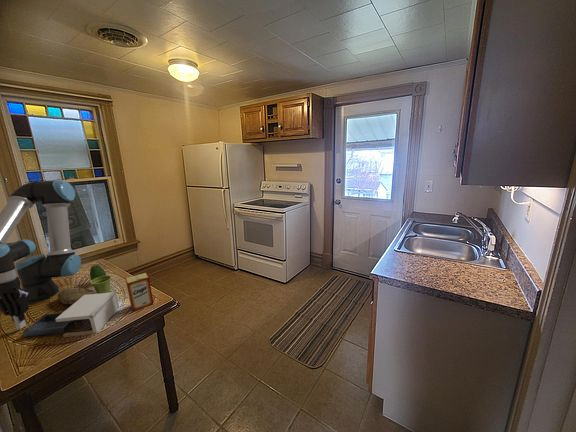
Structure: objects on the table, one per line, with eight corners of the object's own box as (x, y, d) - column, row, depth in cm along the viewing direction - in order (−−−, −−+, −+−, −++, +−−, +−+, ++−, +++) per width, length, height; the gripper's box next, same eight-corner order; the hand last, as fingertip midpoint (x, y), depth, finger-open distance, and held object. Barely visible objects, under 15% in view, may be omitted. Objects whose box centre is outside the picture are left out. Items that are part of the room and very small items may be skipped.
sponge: (56, 304, 131) (66, 309, 119) (55, 290, 131) (65, 293, 120) (86, 297, 142) (98, 301, 130) (85, 283, 142) (97, 286, 130)
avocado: (88, 284, 148) (84, 266, 145) (101, 278, 155) (97, 261, 152) (98, 286, 146) (93, 268, 143) (110, 280, 153) (106, 262, 150)
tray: (24, 337, 105) (22, 332, 104) (47, 319, 116) (45, 314, 115) (65, 333, 107) (63, 327, 106) (83, 316, 118) (82, 310, 118)
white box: (59, 337, 104) (54, 319, 102) (88, 310, 123) (84, 294, 120) (96, 333, 106) (91, 315, 104) (119, 307, 125) (115, 292, 122)
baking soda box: (132, 311, 121) (126, 282, 117) (130, 305, 126) (125, 277, 122) (153, 303, 127) (148, 276, 123) (151, 298, 132) (146, 271, 128)
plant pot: (103, 298, 133) (100, 284, 131) (89, 296, 135) (86, 283, 133) (118, 289, 142) (115, 276, 140) (104, 288, 144) (101, 274, 141)
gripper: (-22, 285, 99) (-4, 334, 105) (14, 282, 101) (30, 330, 107) (-3, 277, 106) (13, 322, 112) (30, 274, 108) (44, 319, 114)
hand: (21, 326), depth 109 cm, fingers closed
